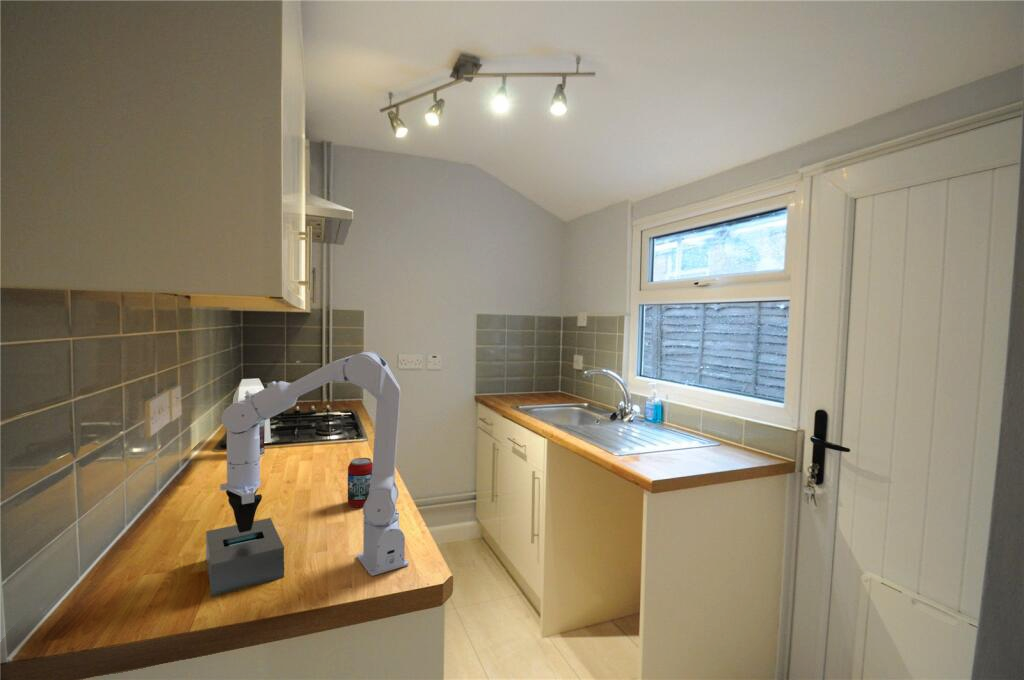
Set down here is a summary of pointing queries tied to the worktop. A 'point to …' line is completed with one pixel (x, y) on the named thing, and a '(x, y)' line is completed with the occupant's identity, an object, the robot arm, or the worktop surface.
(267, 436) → the milk
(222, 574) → the coin box
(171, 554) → the worktop surface
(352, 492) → the beverage can
